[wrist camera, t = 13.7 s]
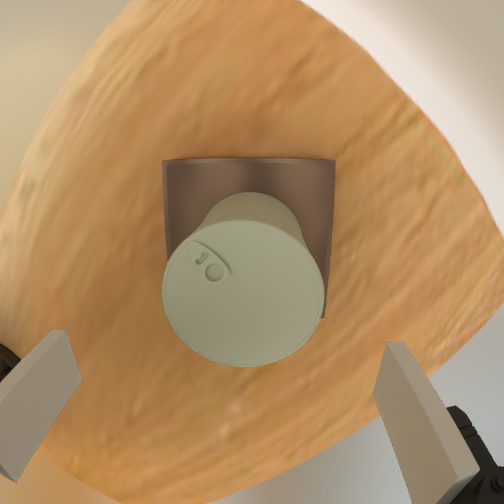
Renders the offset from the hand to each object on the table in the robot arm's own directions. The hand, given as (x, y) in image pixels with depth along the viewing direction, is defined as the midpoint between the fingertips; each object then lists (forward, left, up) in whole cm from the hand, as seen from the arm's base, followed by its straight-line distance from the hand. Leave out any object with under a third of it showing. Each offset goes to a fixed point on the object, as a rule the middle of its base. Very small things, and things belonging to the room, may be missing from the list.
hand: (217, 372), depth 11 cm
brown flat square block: (0, 0, -22) cm, 22 cm away
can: (+1, 0, -18) cm, 18 cm away
